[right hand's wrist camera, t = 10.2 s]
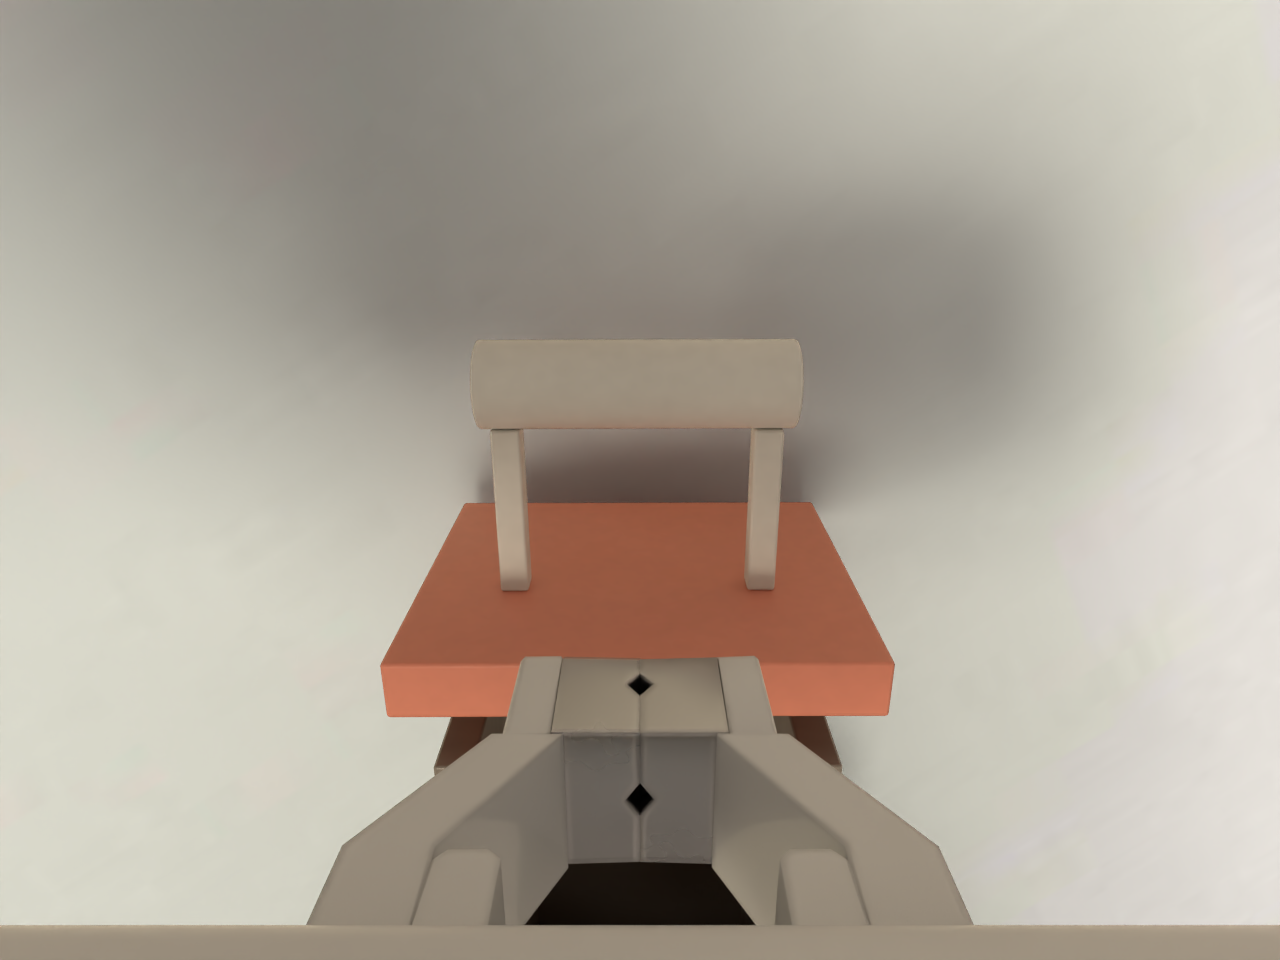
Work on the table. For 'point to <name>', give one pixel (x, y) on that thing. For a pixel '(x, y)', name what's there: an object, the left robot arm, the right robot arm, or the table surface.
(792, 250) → the table surface
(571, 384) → the drawer
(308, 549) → the table surface
